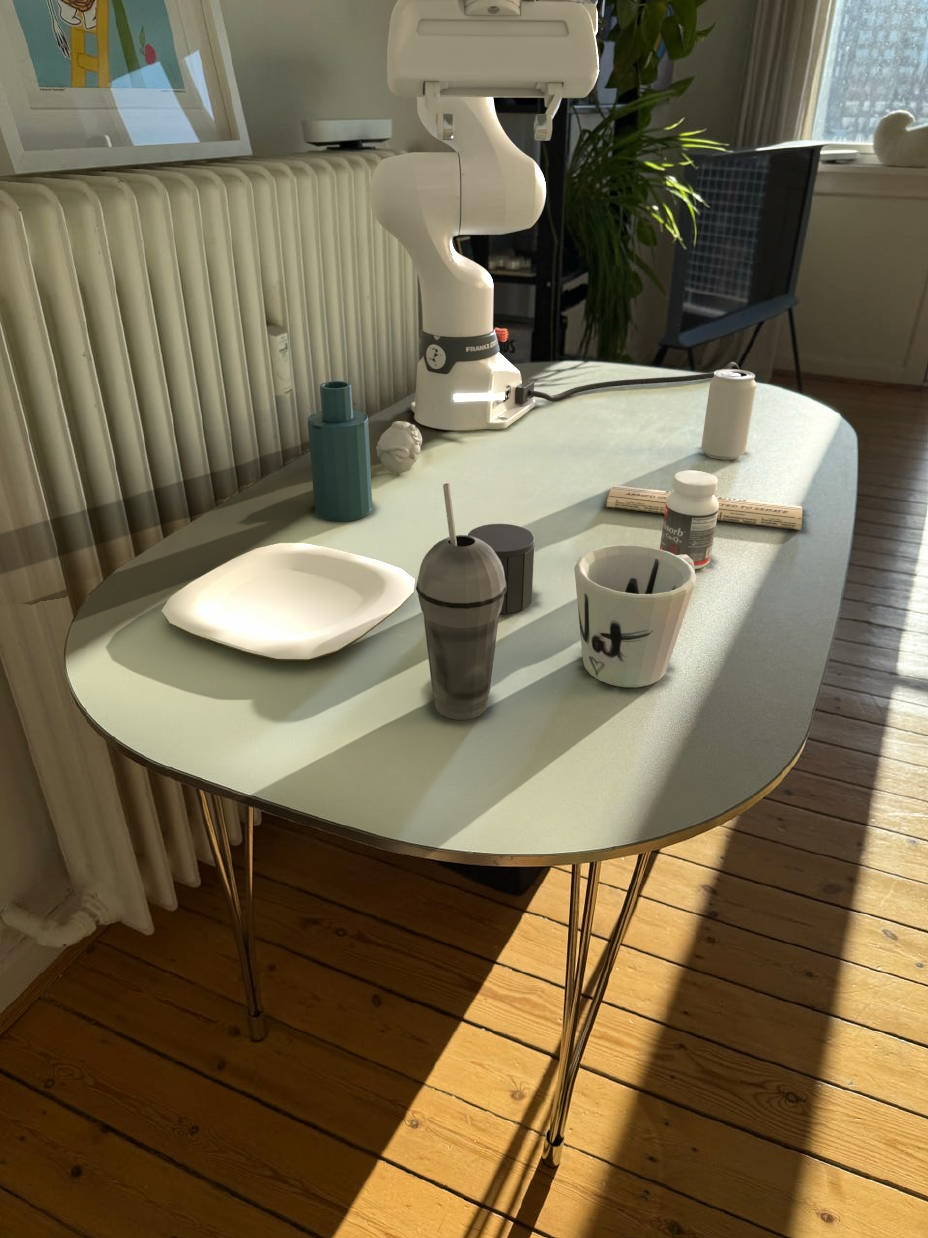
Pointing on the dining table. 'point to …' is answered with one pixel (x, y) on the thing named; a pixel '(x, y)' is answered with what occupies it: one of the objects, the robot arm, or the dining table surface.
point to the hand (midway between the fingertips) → (494, 137)
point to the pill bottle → (691, 516)
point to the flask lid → (511, 561)
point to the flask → (340, 456)
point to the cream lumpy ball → (399, 447)
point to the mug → (631, 611)
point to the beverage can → (728, 413)
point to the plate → (290, 601)
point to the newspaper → (726, 512)
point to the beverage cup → (460, 618)
